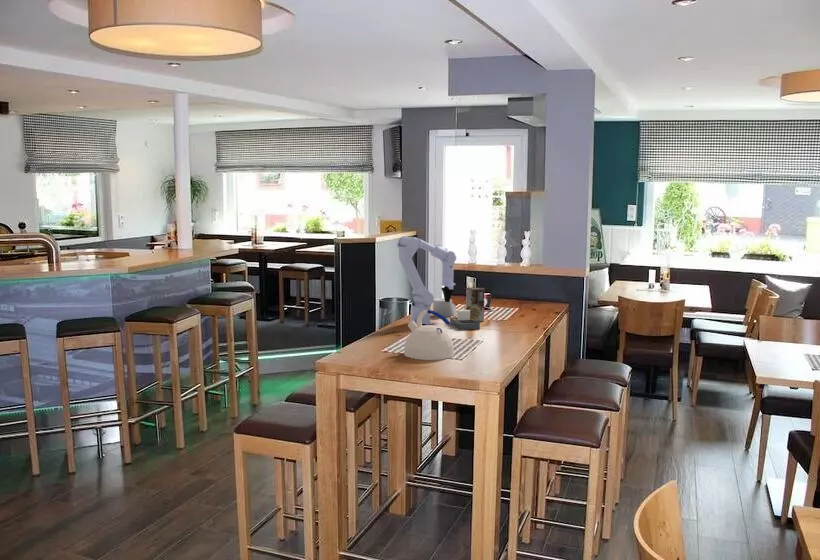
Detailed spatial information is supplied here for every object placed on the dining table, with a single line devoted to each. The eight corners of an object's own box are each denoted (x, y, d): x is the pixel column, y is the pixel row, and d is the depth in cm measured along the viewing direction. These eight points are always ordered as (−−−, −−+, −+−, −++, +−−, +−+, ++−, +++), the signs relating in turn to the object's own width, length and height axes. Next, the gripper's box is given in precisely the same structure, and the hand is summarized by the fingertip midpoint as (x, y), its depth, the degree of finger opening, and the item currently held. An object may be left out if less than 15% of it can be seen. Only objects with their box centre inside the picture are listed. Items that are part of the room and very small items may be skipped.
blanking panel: (458, 325, 344) (458, 310, 343) (457, 324, 346) (457, 310, 345) (470, 324, 345) (470, 310, 344) (468, 324, 347) (469, 309, 346)
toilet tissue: (460, 315, 373) (460, 299, 372) (440, 318, 366) (440, 301, 365) (449, 313, 381) (449, 297, 380) (429, 315, 373) (429, 299, 372)
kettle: (424, 346, 300) (424, 304, 298) (464, 354, 287) (465, 309, 285) (392, 355, 284) (392, 310, 282) (433, 363, 271) (434, 316, 269)
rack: (459, 330, 335) (459, 323, 334) (449, 323, 350) (450, 317, 350) (479, 329, 337) (479, 322, 337) (469, 323, 353) (469, 316, 352)
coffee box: (483, 319, 363) (484, 287, 361) (483, 321, 357) (484, 289, 355) (465, 318, 364) (466, 287, 362) (465, 321, 358) (466, 289, 356)
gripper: (459, 276, 350) (459, 303, 352) (451, 273, 364) (451, 299, 366) (445, 276, 349) (445, 304, 350) (438, 273, 363) (437, 299, 364)
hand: (447, 301), depth 358 cm, fingers closed
